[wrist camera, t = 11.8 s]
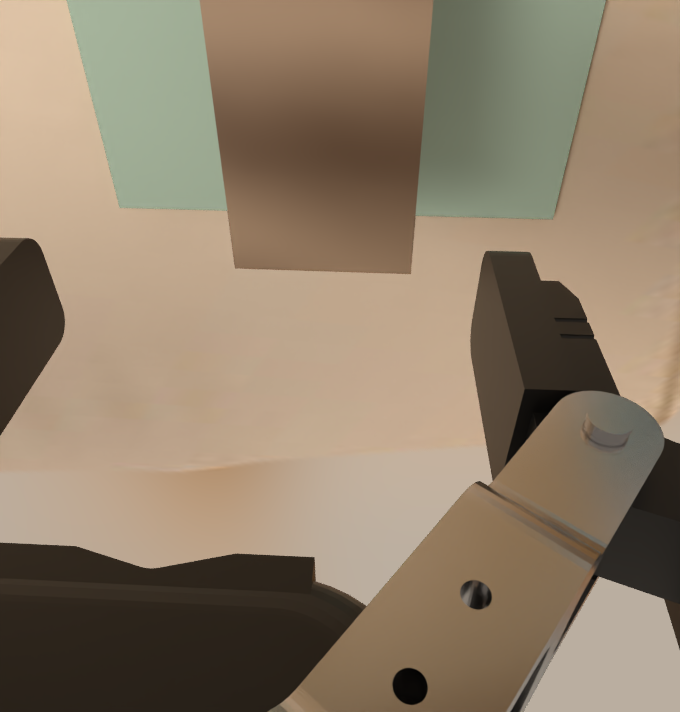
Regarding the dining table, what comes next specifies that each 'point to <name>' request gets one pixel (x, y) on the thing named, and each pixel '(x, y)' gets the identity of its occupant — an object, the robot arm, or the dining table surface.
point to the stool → (319, 129)
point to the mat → (441, 113)
